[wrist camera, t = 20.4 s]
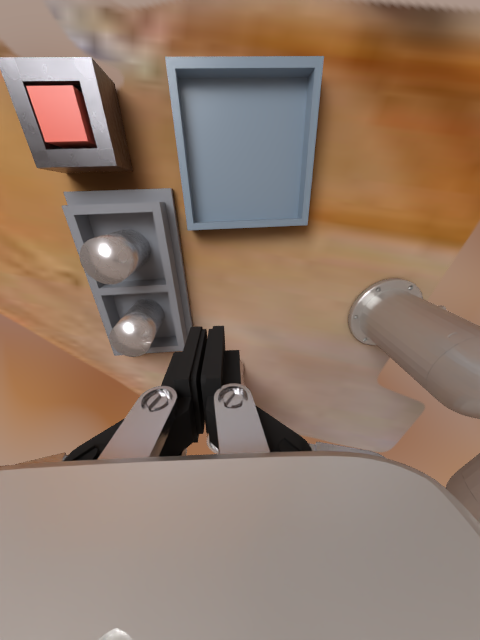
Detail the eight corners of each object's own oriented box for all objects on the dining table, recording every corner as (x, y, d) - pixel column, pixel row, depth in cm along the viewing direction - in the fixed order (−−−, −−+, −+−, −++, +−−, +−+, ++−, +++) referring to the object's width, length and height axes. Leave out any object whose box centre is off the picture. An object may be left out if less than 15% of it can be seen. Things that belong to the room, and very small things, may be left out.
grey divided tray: (172, 188, 29) (165, 186, 26) (195, 344, 40) (192, 357, 37) (68, 192, 29) (46, 190, 25) (120, 349, 40) (110, 363, 36)
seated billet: (160, 297, 35) (145, 322, 28) (166, 326, 37) (154, 355, 30) (127, 299, 35) (103, 324, 28) (135, 328, 37) (115, 358, 30)
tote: (312, 71, 25) (323, 56, 23) (300, 223, 32) (307, 225, 30) (171, 72, 24) (165, 56, 22) (190, 227, 32) (187, 230, 29)
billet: (147, 229, 30) (124, 237, 23) (153, 266, 33) (133, 284, 26) (108, 228, 30) (73, 237, 23) (117, 266, 32) (87, 284, 25)
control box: (114, 83, 25) (90, 57, 20) (133, 171, 28) (116, 165, 24) (37, 84, 24) (-5, 57, 20) (66, 173, 28) (37, 167, 23)
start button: (89, 98, 23) (72, 85, 20) (101, 147, 25) (87, 140, 22) (48, 99, 23) (26, 85, 20) (64, 148, 25) (45, 141, 22)
